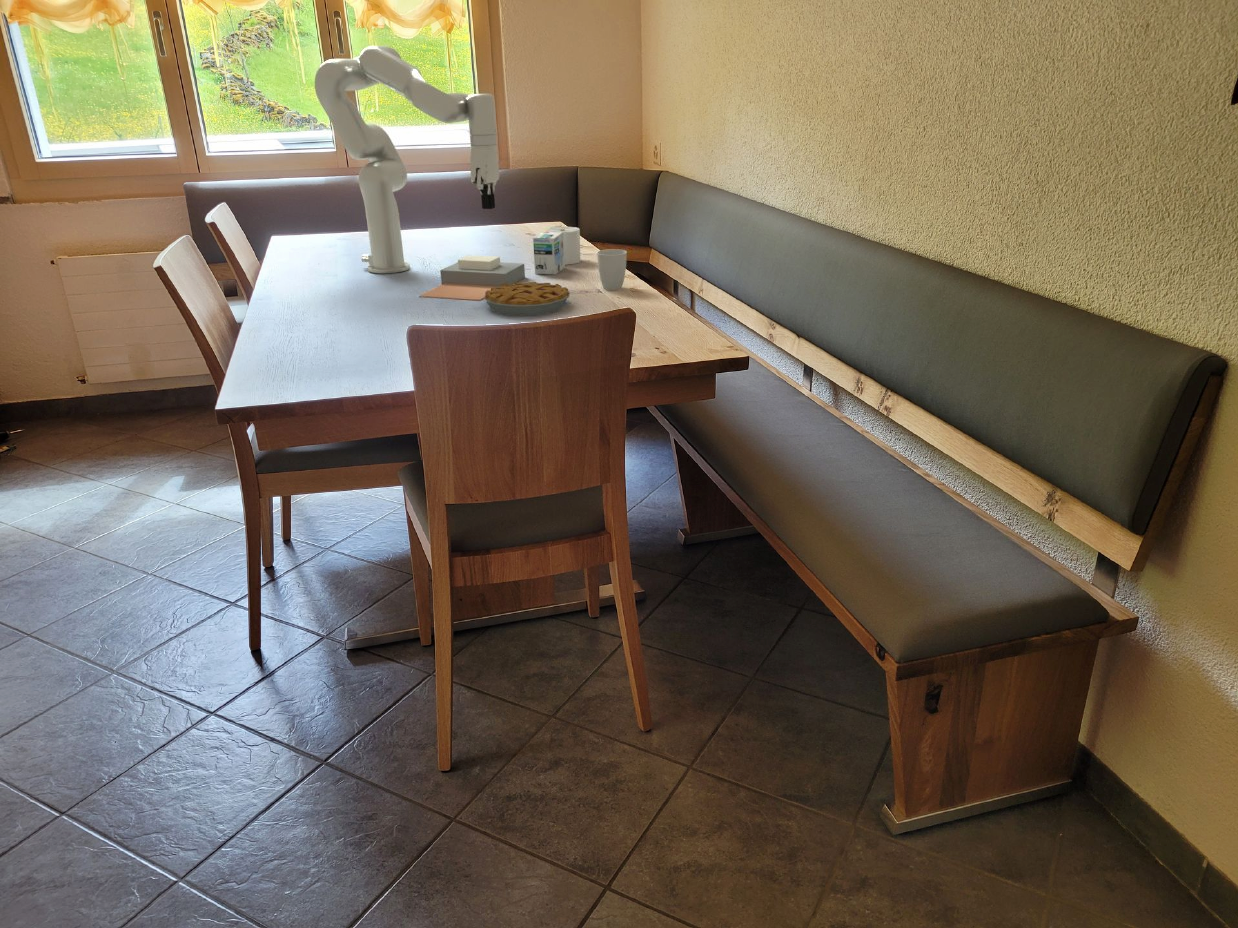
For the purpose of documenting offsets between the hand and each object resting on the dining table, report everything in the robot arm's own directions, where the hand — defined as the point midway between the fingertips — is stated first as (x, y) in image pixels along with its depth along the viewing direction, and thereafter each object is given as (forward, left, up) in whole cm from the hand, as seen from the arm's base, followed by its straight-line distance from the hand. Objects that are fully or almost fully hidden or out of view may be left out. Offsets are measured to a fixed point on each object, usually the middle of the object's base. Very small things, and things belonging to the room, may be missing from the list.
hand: (488, 208), depth 255 cm
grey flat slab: (+1, -9, -19) cm, 21 cm away
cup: (+40, -9, -19) cm, 46 cm away
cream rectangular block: (0, -9, -14) cm, 17 cm away
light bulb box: (+15, +8, -19) cm, 26 cm away
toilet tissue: (+14, +22, -19) cm, 33 cm away
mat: (+1, -23, -19) cm, 30 cm away
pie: (+25, -33, -20) cm, 46 cm away
